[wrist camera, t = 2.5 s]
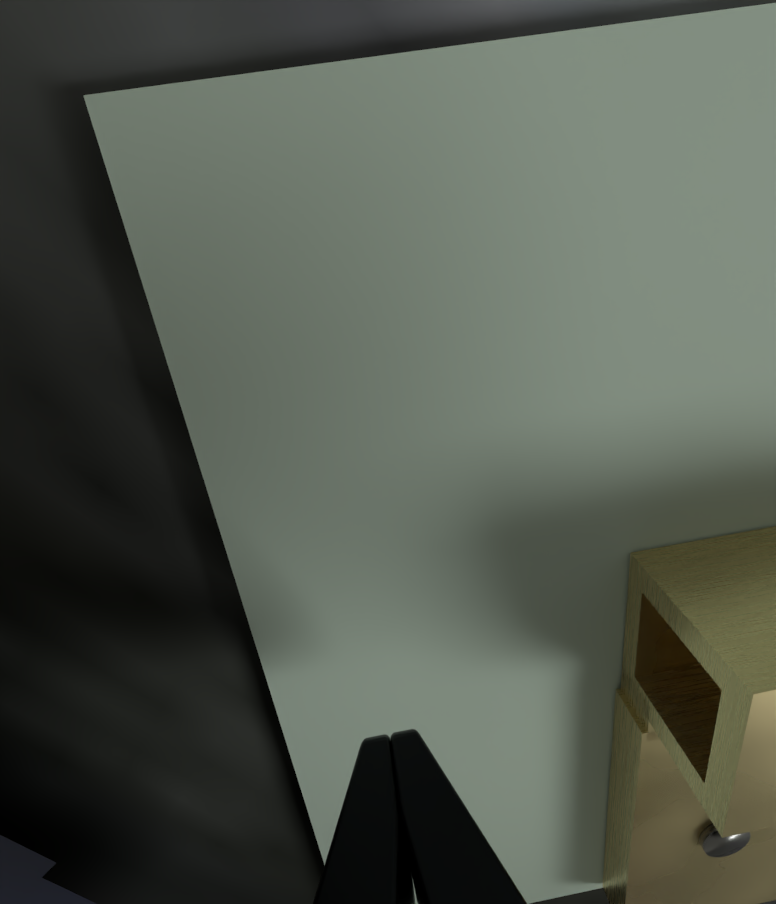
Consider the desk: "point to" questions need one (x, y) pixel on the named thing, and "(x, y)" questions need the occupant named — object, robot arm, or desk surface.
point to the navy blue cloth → (29, 878)
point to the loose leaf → (696, 727)
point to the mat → (467, 379)
